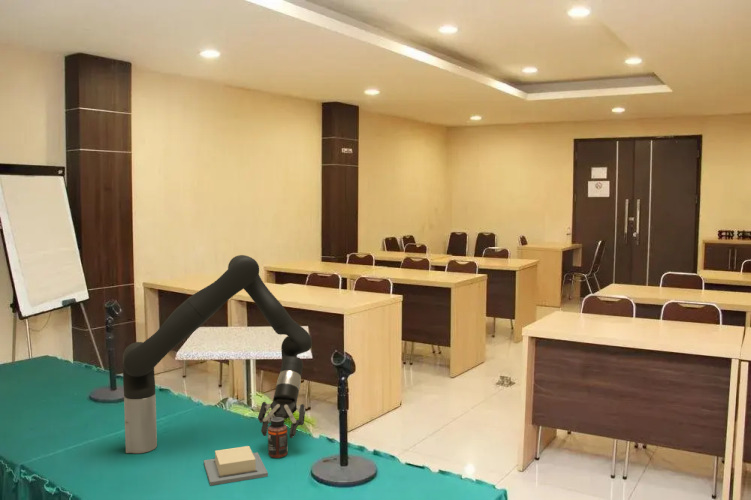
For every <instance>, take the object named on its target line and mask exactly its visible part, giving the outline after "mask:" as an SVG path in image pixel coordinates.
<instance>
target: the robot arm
mask: <svg viewBox="0 0 751 500" xmlns="http://www.w3.org/2000/svg"><path fill="white" fill-rule="evenodd" d="M259 273H260V266H259V263H258V262H257V261H256V259H254V258H252V257H251V256H248V255H245V254H239V255H235V256H234V257H232V258H231V260H230V261H229V263H228V265H227V270H226V271H225V272H224V273H223V274H222V275H221V276H219V277H218V278H217V279H216V280H214V282H212V283H211V284H209V285H207V286H205V287H204V288H202V289H200V290H198V291H197V292H195V293H194V294H192V295H190V296H189V297H188V298H187V299H185V300H184V301H183V302H181V304H179V306H177V307H176V308H175V309H174V310H173V311H172V313H171V314H170V315H169V316H168V317H167V318H166V319H165V321H164V322H163V324H162V325H160V327H159V328H158V329H157V331H155V333H153V334H152V335H151V336H150V337H148V338H147V339H145V341H143V342H142V341H136V342H132V343H131V344H129V345H127V346H126V348H125V349H124V351H123V353H122V376H123V378H122V381H123V383H122V384H123V403H124V405H123V406H124V409H123V410H124V436H125V437H124V439H125V443H124V444H125V454H143V453H144V454H145V453H149V452H151V451H153V450H155V449H156V448H157V446H158V443H157V441H158V438H157V434H158V433H157V403H156V402H157V399H156V397H157V396H156V380H155V379H156V378H155V368H156V366H157V365H158V364H159V363H160V362H161V361H162V360H163V358H165V357H166V356H167V355H168V354H169V353H170V352H171V351H172V350H173V349H174V348H175V347H177V346H178V345H179V344H180V343H182V342H183V341H185V340H186V339H187V338H189V336H191V335H192V334H193V333H194V332H195V331H196V330H198V329H199V328H200V327H201V326H203V325H204V324H205V323H206V322H208V320H209V319H210V318H211V317H213V316H214V315H215V314H216V313H217V312H218V311H219V310H220V309H221V308H222V307H223V306H224V305H225V304H226V303H227V302H228V301H229V300H230V299H231V298H233V297H234V296H235V295H236V294H238V293H240V292H241V291H242V290H244V291H245V292H246V293H247V295H248V296H249V297H250V298H251V300H252V301H253V302H254V303H255V305H256V306H257V308H258V309H259V310H260V312H261V313H262V315H263V317H264V319H265V320H266V321H267V323H268V324H269V325H270V327H271V328H272V330H273V331H274V332H275V333H276V334H277V335H281V336H282V335H285V336H286V337H285V338H284V339H283V340H282V342H281V346H280V347H281V362H282V363H281V366H280V371H279V376H278V378H277V381H276V384H275V389H274V390H275V391H274V395H273V398H272V402H271V403H266V401H262V403H261V406H260V409H259V412H258V416H257V419H258V421H259V422H260V423H262V425H261V429H260V433H261V434H262V436H263V437H266V436H267V435H268V427H269V424H271V419H272V418H274V417H282V418H284V420H287V419H290V421H291V424H290V429H289V434H288V435H289V438H290V439H291V438H292V439H293V438H294V437H295V436H296V433H297V428H298V426H303V425H304V423H305V418H306V417H305V416H306V415H305V414H306V407H305V404H304V403H301V404H300V405H298V404H297V402H298V398H299V392H300V389H301V384H302V383H301V382H302V381H301V378H302V374H303V368H304V361H303V360H302V359H301V358H300V357H298V355H301V354H303V353H307V352H308V351H310V350H311V349H312V347H313V340H312V336H311V334H310V333H309V332H308V331H307V330H306V329H305V328H304V327H303V326H301V325H300V324H299V323H298V322H296V321H295V320H294V319H293V318H292V317H291V315H290V314H289V313H288V311H287V309H285V307H284V306H283V305H282V303H281V302H280V301H279V300H278V298H276V296H274V294H273V293H272V292H271V290H270V289H269V288H268V287H267V285H266V284H265V282H264V281H263V280H262V278H261V276H260V274H259ZM269 409H271V410H270V411H269ZM267 411H269V412H268V413H267ZM296 411H297V412H298V413H299V415H298V419H296V418H295V416H294V413H295V412H296ZM266 413H267V414H266Z"/></svg>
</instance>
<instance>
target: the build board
mask: <svg viewBox="0 0 751 500" xmlns="http://www.w3.org/2000/svg"><path fill="white" fill-rule="evenodd" d="M214 456H215V457H214V458H211V459H204V460H203V465H204V470H205V472H206V475H207V479H208V482H209V485H210V486H217V485H223V484H228V483H229V484H230V483H234V482H235V483H236V482H241V481H247V480H254V479H259V478H260V479H261V478H265V477H266V478H267V477H269V472H268V470H267V468H266V467H265V464H264V463H263V460H262V458H261V457H260V454H259V452H253V450H252V449H251V446H249V445H245V446H238V447H233V448H232V447H231V448H226V449H218V450H214Z"/></svg>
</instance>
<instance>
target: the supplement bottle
mask: <svg viewBox="0 0 751 500" xmlns="http://www.w3.org/2000/svg"><path fill="white" fill-rule="evenodd" d="M288 446H289V445H288V426H287V425H286V424H285V419H284V418H282V417H274V418H272V419H271V422H270V425H268V430H267V452H268V456H269V457H270V458H275V459H278V458H279V459H280V458H283V457H285V456H287V455H288V449H289V448H288Z"/></svg>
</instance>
